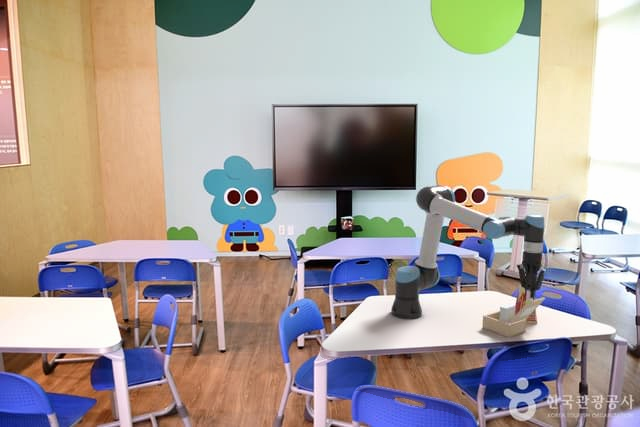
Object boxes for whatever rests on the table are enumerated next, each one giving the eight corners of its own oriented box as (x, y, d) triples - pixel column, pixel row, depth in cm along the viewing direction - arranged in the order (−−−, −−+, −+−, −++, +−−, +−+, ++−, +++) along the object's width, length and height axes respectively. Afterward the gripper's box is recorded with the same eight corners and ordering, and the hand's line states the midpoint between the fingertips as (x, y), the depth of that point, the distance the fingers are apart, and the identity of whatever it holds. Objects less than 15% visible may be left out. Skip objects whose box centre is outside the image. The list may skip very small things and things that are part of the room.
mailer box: (482, 328, 224) (483, 303, 222) (498, 323, 231) (499, 299, 229) (509, 337, 212) (510, 312, 211) (525, 332, 219) (526, 307, 218)
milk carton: (537, 323, 231) (540, 282, 228) (516, 321, 232) (519, 281, 230) (533, 316, 239) (535, 277, 237) (513, 315, 241) (515, 276, 239)
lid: (527, 301, 204) (529, 303, 203) (543, 297, 210) (545, 298, 210) (509, 322, 212) (510, 324, 211) (525, 317, 218) (526, 318, 218)
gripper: (513, 249, 210) (510, 302, 213) (541, 255, 199) (538, 310, 202) (524, 247, 214) (520, 299, 217) (552, 253, 203) (548, 307, 207)
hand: (529, 304), depth 210 cm, fingers closed
